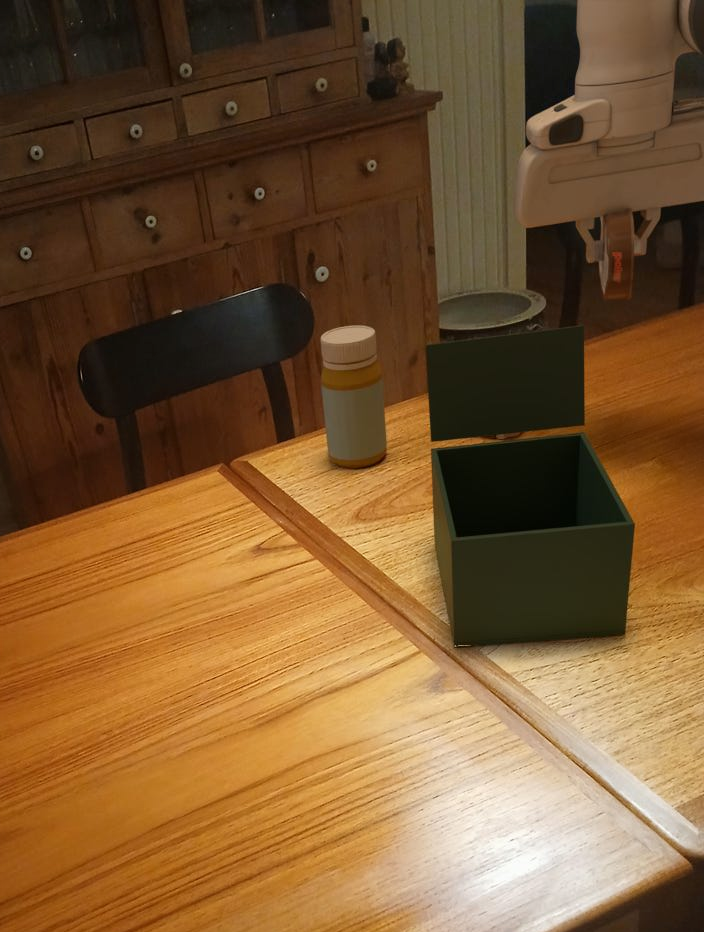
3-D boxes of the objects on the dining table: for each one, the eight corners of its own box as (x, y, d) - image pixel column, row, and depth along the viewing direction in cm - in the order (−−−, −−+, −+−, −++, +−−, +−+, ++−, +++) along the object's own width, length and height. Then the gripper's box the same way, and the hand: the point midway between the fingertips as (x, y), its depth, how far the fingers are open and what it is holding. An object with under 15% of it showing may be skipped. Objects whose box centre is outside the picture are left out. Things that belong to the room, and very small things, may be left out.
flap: (425, 344, 90) (425, 344, 90) (431, 442, 93) (430, 441, 93) (584, 325, 88) (583, 325, 88) (584, 425, 90) (583, 424, 91)
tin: (632, 310, 98) (642, 221, 93) (598, 312, 99) (607, 223, 94) (622, 268, 110) (631, 186, 105) (592, 269, 111) (599, 189, 106)
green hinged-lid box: (454, 647, 84) (451, 540, 78) (434, 545, 99) (430, 448, 93) (625, 634, 82) (635, 523, 76) (579, 531, 97) (584, 432, 91)
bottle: (324, 451, 122) (311, 331, 113) (379, 441, 122) (371, 320, 113) (334, 474, 116) (322, 349, 108) (393, 463, 116) (385, 337, 108)
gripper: (725, 86, 96) (711, 234, 104) (510, 124, 99) (511, 264, 107) (748, 94, 91) (731, 249, 98) (520, 133, 94) (521, 280, 102)
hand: (615, 257), depth 103 cm, fingers closed on tin, 3 cm apart
